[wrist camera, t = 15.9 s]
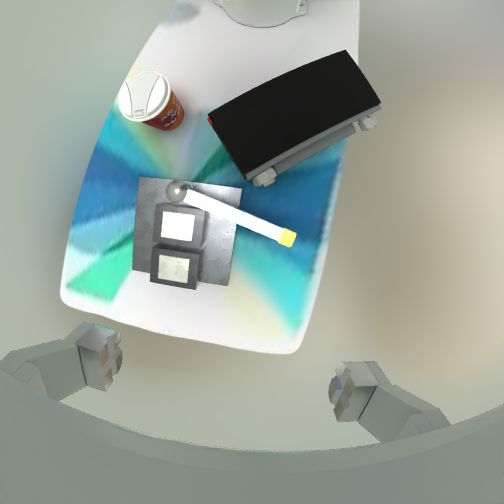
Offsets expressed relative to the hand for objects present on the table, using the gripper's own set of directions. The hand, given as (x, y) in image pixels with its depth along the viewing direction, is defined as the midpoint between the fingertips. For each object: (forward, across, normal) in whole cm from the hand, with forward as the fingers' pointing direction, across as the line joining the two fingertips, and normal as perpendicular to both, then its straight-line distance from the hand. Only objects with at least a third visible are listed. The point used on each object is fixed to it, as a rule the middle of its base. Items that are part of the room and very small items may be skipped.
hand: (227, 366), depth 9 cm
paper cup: (+39, +16, -17) cm, 46 cm away
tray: (+39, +10, +3) cm, 40 cm away
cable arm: (+32, +2, -2) cm, 32 cm away
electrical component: (+39, -4, -15) cm, 42 cm away
